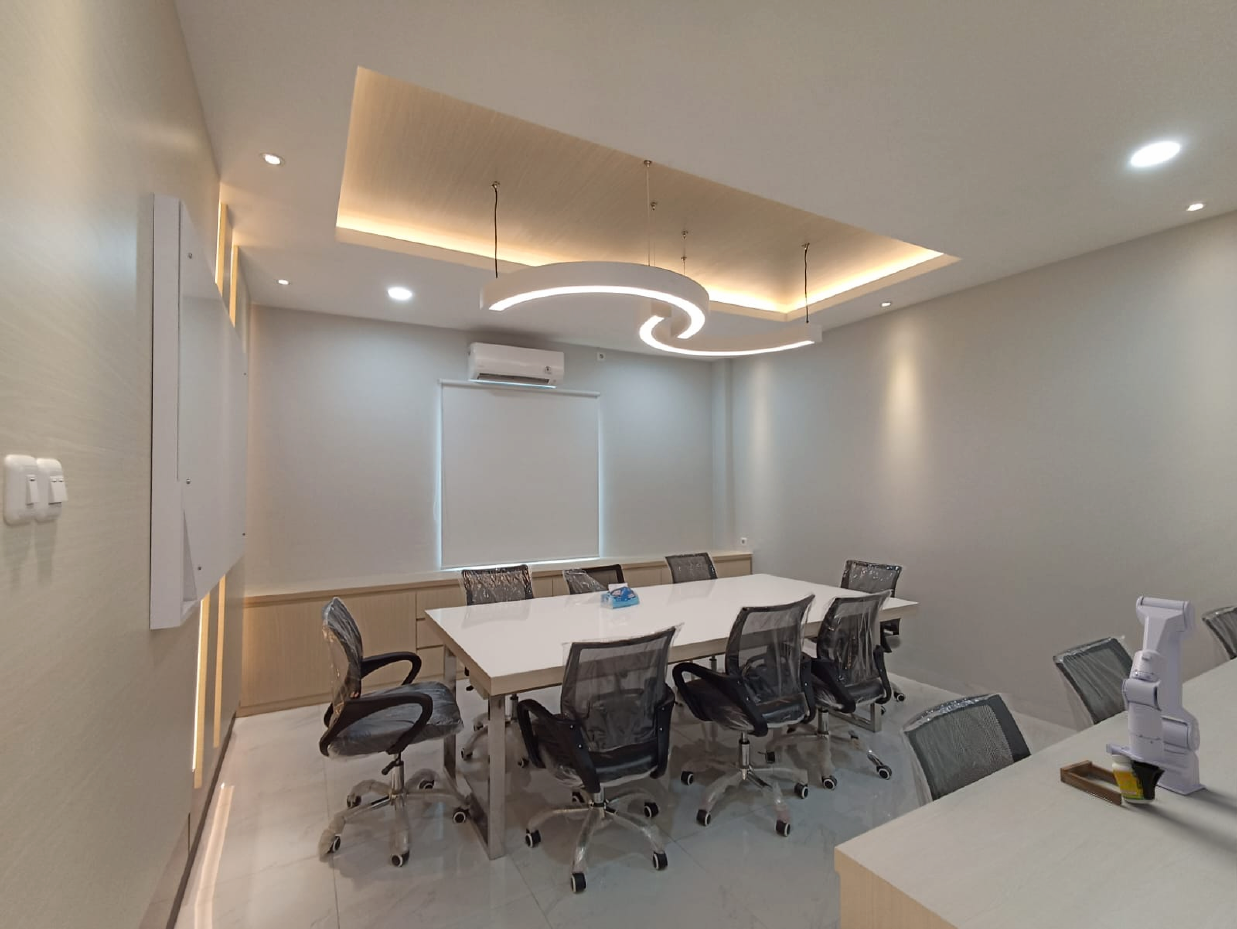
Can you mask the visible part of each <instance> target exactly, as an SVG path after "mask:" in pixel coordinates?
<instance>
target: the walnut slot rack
mask: <svg viewBox="0 0 1237 929" xmlns="http://www.w3.org/2000/svg"><path fill="white" fill-rule="evenodd" d="M1059 774H1060V776H1059V777H1060V781H1061V782H1062V783H1065V784H1067V785H1069V784H1070V786H1072V787H1074V788H1077V789H1079V790H1081V791H1083V792H1086V791H1088V792H1090V793H1089V794H1091V793H1092V794H1091V795H1093V794H1095V795H1097V796H1096V797H1098V796H1099V797H1098V798H1100V797H1102V798H1105V799H1107V800H1109V801H1112V802H1114V803H1116V804H1115V805H1117V804H1118V805H1117V806H1119V805H1120V806H1122V805H1123V796H1122V793H1121V792H1119V791H1117V790H1114V789H1111V788H1110V787H1106V786H1104V785H1102V784H1099V783H1097V782H1094V781H1092V780H1090V779H1087V778H1085V777H1087V776H1093V777H1095V778H1097V777H1098V778H1097V779H1100V780H1102V781H1105V782H1106V783H1110V784H1113V785H1115V786H1118V783H1117V780H1116V777H1115V775H1114V772H1113V770H1109V769H1107V768H1104V767H1102V766H1100V765H1096V764H1094V763H1093V761H1092V760H1089V759H1086V760H1083V761H1080V762H1075V763H1073V764H1070V765H1066V766H1063V767H1060V768H1059ZM1118 787H1119V786H1118ZM1088 792H1087V793H1088ZM1095 795H1094V796H1095ZM1102 798H1101V799H1102ZM1105 799H1104V800H1105ZM1107 800H1106V801H1107ZM1109 801H1108V802H1109ZM1112 802H1111V803H1112ZM1114 803H1113V804H1114ZM1121 804H1122V805H1121Z"/></svg>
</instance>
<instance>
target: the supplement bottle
mask: <svg viewBox="0 0 1237 929" xmlns="http://www.w3.org/2000/svg"><path fill="white" fill-rule="evenodd" d="M1110 757H1111V759H1112V761H1113V763H1112V765H1111V768H1112V772H1114V775H1115V777H1116V780H1117V783H1118V788H1119V791H1120V793H1122V800H1124V801H1125V802H1128V803H1131V804H1149V803H1152V802H1153V801H1154V799H1153V800H1147V799H1144V796H1143V788H1142V785H1141V783H1140V781H1139V779H1138V777H1137V775H1136V774H1135V772H1134V770H1133V769H1132V768H1131V764H1132V763H1133V762H1134V760H1132V759H1130V757H1128V756H1127V755H1118V754H1114V753H1112V754H1111V753H1110Z"/></svg>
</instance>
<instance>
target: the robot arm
mask: <svg viewBox="0 0 1237 929" xmlns="http://www.w3.org/2000/svg"><path fill="white" fill-rule="evenodd" d="M1135 613H1136V617H1137V619H1138V620H1139V622H1140V624H1141V625H1142V626H1143V628H1144V629H1143V632H1144V633H1143V642H1142V650H1139V651H1136V652H1135V653H1134V656H1133V660H1132V666H1131V670H1130V673H1129V677H1128V678H1124V679H1123V682H1122V688H1121V689H1122V690H1121V691H1122V692H1121V693H1122V698H1123V702H1124V709H1125V711H1127V725H1128V726H1127V728H1128V746H1124V745H1122V744H1121V745H1120V744H1117V743H1115V742H1106V743H1105V752H1106V753H1108V754H1110V755H1111V754H1112V753H1114V754H1118V755H1127V756H1128V757H1130V759H1132V760H1134V762H1133V763H1132V764H1131V768H1132V769H1133V770H1134V772H1135V774H1136V775H1137V777H1138V779H1139V781H1140V783H1141V785H1142V788H1143V796H1144V799H1147V800H1153V801H1154V800H1155V798H1156V787H1157V786H1159V787H1162V788H1163V789H1166V790H1169V791H1172V792H1175V793H1178V794H1180V795H1183V796H1186V795H1189V794H1192V793H1194V792H1197V791H1199V790H1201V789H1204V788H1206V785H1205V784H1203V783H1201V781H1200V780H1201V779H1200V763H1199V762H1200V760H1199V757H1198V754H1197V753H1196V752H1197V751H1199V749H1200V746H1201V744H1200V743H1201V733H1200V729H1199V721H1198V719H1197V717H1196V716H1194V715H1193V714H1192V713H1191V712H1189V710H1187V709H1185V708H1184V707H1183V681H1184V680H1183V678H1184V677H1183V674H1184V673H1183V670H1184V669H1183V668H1184V644H1185V642H1186V639H1188V638H1193V637H1195V633H1196V622H1197V621H1196V617H1197V616H1196V615H1197V614H1196V607H1195V605H1194V604H1193V603H1192V601H1188V600H1187V601H1184V600H1183V601H1182V600H1173V599H1165V598H1156V597H1148V596H1147V597H1146V596H1143V595H1141V596H1139V597H1138V598H1137V600H1136V602H1135ZM1163 716H1166V717H1163ZM1168 717H1170V718H1168ZM1173 718H1174V719H1173ZM1176 719H1179V720H1176Z"/></svg>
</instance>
